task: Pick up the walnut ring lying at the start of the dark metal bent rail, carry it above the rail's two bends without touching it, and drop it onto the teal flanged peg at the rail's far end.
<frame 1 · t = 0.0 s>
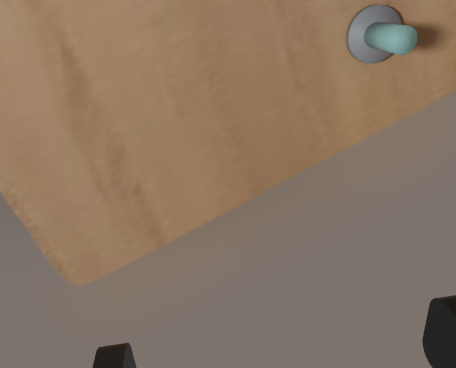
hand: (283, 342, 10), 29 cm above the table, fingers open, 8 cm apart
teal flanged peg: (372, 34, 36), on the table
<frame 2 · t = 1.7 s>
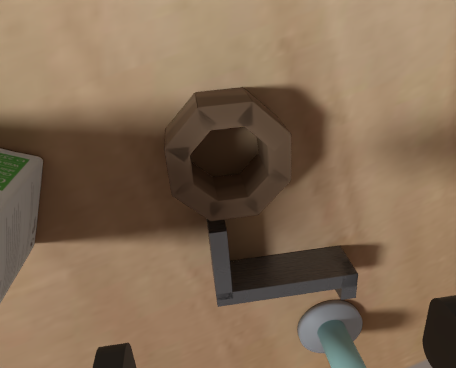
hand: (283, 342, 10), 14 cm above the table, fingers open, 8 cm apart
bent rail: (276, 260, 27), on the table
teal flanged peg: (328, 324, 30), on the table
walnut ring: (223, 144, 23), on the table
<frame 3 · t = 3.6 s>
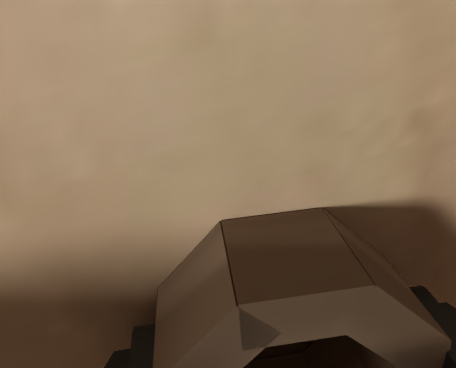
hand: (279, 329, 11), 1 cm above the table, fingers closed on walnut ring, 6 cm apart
walnut ring: (274, 308, 11), on the table, touching gripper
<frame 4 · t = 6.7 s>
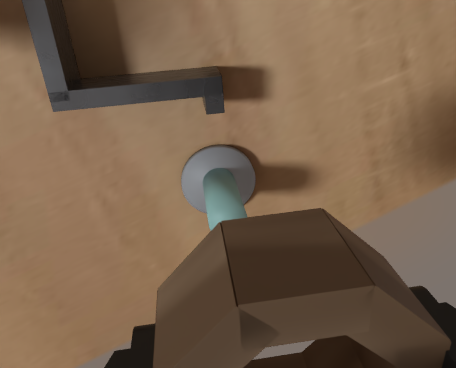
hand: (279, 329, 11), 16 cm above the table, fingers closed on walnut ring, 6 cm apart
bent rail: (142, 81, 23), on the table
teal flanged peg: (218, 178, 27), on the table
walnut ring: (274, 308, 11), point 16 cm above the table, touching gripper
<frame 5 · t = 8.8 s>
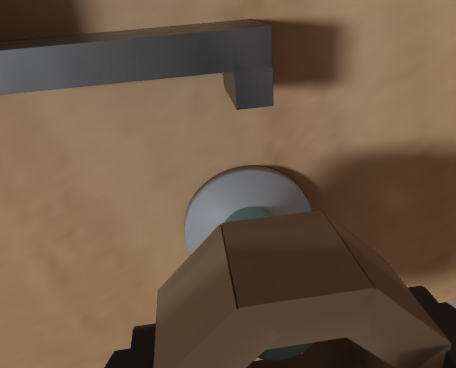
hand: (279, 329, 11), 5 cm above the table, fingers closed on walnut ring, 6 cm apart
bent rail: (109, 49, 12), on the table
teal flanged peg: (247, 223, 15), on the table
walnut ring: (274, 310, 11), point 5 cm above the table, touching gripper
when the fingers open (4 cm above the table, at t = 10.1 s): walnut ring drops 3 cm, resting on teal flanged peg.
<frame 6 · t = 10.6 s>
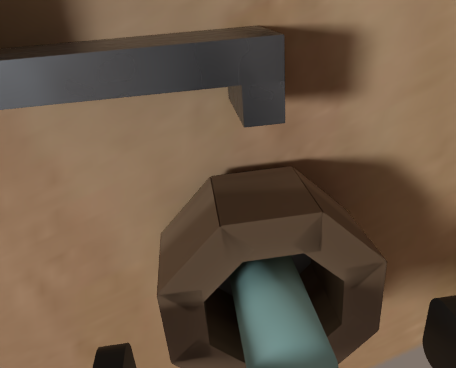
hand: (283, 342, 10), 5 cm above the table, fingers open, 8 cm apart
bent rail: (103, 58, 11), on the table
teal flanged peg: (253, 243, 14), on the table
walnut ring: (256, 252, 14), point 1 cm above the table, touching teal flanged peg
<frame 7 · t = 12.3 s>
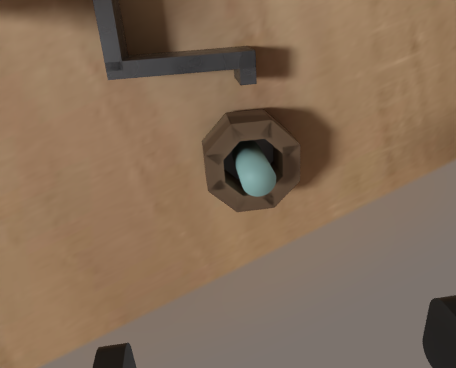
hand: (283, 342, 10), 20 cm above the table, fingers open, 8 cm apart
bent rail: (181, 59, 26), on the table
teal flanged peg: (245, 150, 29), on the table
walnut ring: (246, 153, 29), point 1 cm above the table, touching teal flanged peg
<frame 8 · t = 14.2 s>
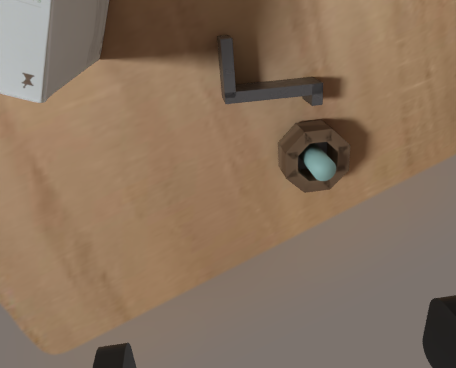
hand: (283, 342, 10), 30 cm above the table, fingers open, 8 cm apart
skincare box: (56, 12, 33), on the table
bent rail: (267, 86, 38), on the table
teal flanged peg: (306, 149, 41), on the table
walnut ring: (308, 151, 40), point 1 cm above the table, touching teal flanged peg
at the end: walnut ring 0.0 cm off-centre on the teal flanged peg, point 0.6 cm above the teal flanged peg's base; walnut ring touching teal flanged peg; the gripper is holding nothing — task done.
